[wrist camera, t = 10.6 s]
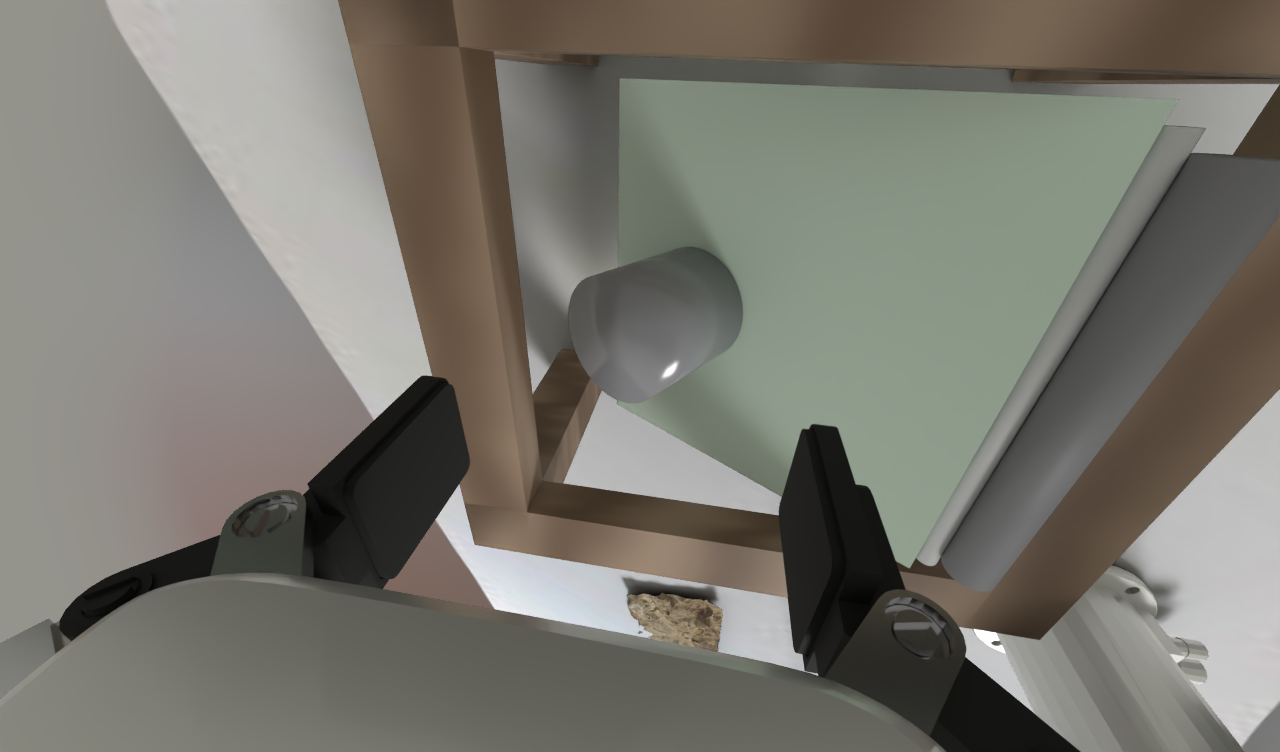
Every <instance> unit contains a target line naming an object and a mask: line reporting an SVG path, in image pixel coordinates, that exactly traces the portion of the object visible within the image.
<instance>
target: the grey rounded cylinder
mask: <svg viewBox="0 0 1280 752" xmlns="http://www.w3.org/2000/svg"><path fill="white" fill-rule="evenodd" d="M742 320H743V305H742V298H741V295H740V291H739V288H738V286H737V283H736V281H735V279H734V277H733V276H732V274H731V273H730V271H729V270H728V268H727V267H726V266H725V265H724V264H723V263H722V262H721V261H720V260H719V259H718V258H717V257H715V256H714V255H713V254H711V253H709V252H707V251H705V250H703V249H700V248H696V247H680V248H677V249H674V250H671V251H668V252H664V253H661V254H658V255H655V256H652V257H649V258H646V259H643V260H640V261H637V262H634V263H631V264H628V265H624V266H621V267H618V268H615V269H612V270H609V271H606V272H603V273H600V274H597V275H594V276H591V277H588V278H586V279H584V280H583V281H581V282H580V283H579V284H578V285H577V287H576V288H575V290H574V292H573V294H572V296H571V299H570V304H569V311H568V323H569V331H570V336H571V340H572V343H573V346H574V349H575V352H576V354H577V356H578V359H579V360H580V362H581V364H582V366H583V368H584V369H585V371H586V372H587V374H588V375H589V376H590V378H591V379H592V380H593V381H594V383H595V384H596V385H597V386H598V387H599V388H600V389H601V390H603V391H604V392H605V393H606V394H608V395H609V396H611V397H612V398H614V399H616V400H618V401H621V402H624V403H630V404H636V403H641V402H644V401H646V400H648V399H649V398H651V397H653V396H654V395H656V394H658V393H659V392H661V391H662V390H664V389H666V388H667V387H669V386H670V385H672V384H674V383H675V382H677V381H679V380H680V379H682V378H683V377H685V376H687V375H688V374H690V373H691V372H693V371H695V370H696V369H698V368H700V367H701V366H703V365H704V364H706V363H708V362H709V361H711V360H712V359H714V358H716V357H717V356H719V355H721V354H722V353H724V352H725V351H727V350H728V349H729V348H730V347H731V346H732V345H733V343H734V342H735V341H736V339H737V337H738V335H739V332H740V330H741V326H742Z"/></svg>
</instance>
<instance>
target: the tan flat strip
mask: <svg viewBox="0 0 1280 752" xmlns="http://www.w3.org/2000/svg"><path fill="white" fill-rule="evenodd" d="M627 597H629V598H630V599H629V600H630V602H629V609H630V610H629V611H630V613H631V615H632V616H633V618H634V619H636V620H638V621H639V625H642V626H643V627H645V628H644V630H646V631H648V632H650V633H652V634H653V635H652V636H651V637H649V638H650V639H654V640H659V641H664V642H670V643H675V644H680V645H685V646H691V647H696V648H701V649H705V650H710V651H715V652H717V651H718V644H719V643H718V642H719V640H720V639H719V638H720V637H719V634H720V630H721V629H720V628H721V621H722V616H723V614H722V613H723V612H722V611H723V610H722V609H720V608H719V607H717V606H715V605H713V603H712V604H711V603H709V602H708V600H705V601H704V600H701V599H700V600H699V599H693V600H692V599H686V598H683V597H680V596H677V595H671V594H664V593H661V595H660V596H651V595H649V594H640V595H632V594H627ZM639 633H643V632H641V631H639Z"/></svg>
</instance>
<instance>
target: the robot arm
mask: <svg viewBox="0 0 1280 752" xmlns="http://www.w3.org/2000/svg"><path fill="white" fill-rule="evenodd" d="M469 466H470V457H469V452H468V448H467V443H466V439H465V434H464V430H463V425H462V421H461V416H460V412H459V407H458V403H457V399H456V394H455V390H454V387H453V385H451V384H449V382H448V381H447V379H445V378H441V377H433V376H421V377H420V378H418V379H417V380H416V381H415V382H414V383H413V384H412V385H411V386H410V387H409V388H408V389H407V390H406V391H405V392H404V393H403V394H402V395H401V396H399V397H398V398H397V399H396V400H395V401H394V402H393V403H392V404H391V405H390V406H389V407H388V408H387V409H386V410H385V411H384V412H383V413H382V414H380V415H379V416H378V417H377V418H376V419H375V420H374V421H373V422H372V423H371V424H370V425H369V426H368V427H367V428H366V429H365V430H364V431H362V432H361V433H360V434H359V435H358V436H357V437H356V438H355V439H354V440H353V441H352V442H351V443H350V444H349V445H348V446H347V447H346V448H345V449H343V450H342V451H341V452H340V453H339V454H338V455H337V456H336V457H335V458H334V459H333V460H332V461H331V462H330V463H329V464H328V465H327V466H326V467H324V468H323V469H322V470H321V471H320V472H319V473H318V474H317V475H316V476H315V477H314V478H313V479H312V480H311V481H310V482H309V483H308V486H309V488H310V489H309V490H308V491H307V492H306V493H305V494H304V495H302V494H301V493H299V492H296V491H293V490H279V491H274V492H269V493H266V494H264V495H261V496H258V497H256V498H254V499H252V500H250V501H248V502H246V503H245V504H243V505H242V506H241V507H239V508H238V509H237V510H235V511H234V512H233V513H232V514H231V515H230V516H229V518H228V519H227V520H226V522H225V524H224V526H223V528H222V531H221V535H218V536H216V537H213V538H210V539H207V540H205V541H202V542H199V543H196V544H194V545H191V546H188V547H186V548H183V549H180V550H177V551H175V552H172V553H169V554H166V555H164V556H161V557H158V558H156V559H153V560H150V561H147V562H145V563H142V564H139V565H137V566H134V567H131V568H129V569H126V570H123V571H120V572H118V573H116V574H114V575H111V576H109V577H107V578H105V579H103V580H101V581H100V582H98V583H96V584H95V585H93V586H91V587H90V588H89V589H87V590H86V591H85V592H84V593H82V594H81V595H80V596H78V597H77V598H76V599H75V600H74V601H73V602H72V603H71V605H70V606H69V607H68V608H67V609H66V610H65V612H64V614H63V616H62V617H61V619H60V621H58V622H56V623H53V622H52V621H51V620H50V619H47V620H45V621H43V622H41V623H39V624H37V625H35V626H33V627H31V628H29V629H27V630H25V631H23V632H21V633H19V634H17V635H15V636H13V637H11V638H9V639H7V640H5V641H3V642H1V643H0V752H1245V751H1244V750H1243V749H1242V747H1241V746H1240V745H1239V743H1238V742H1237V741H1236V740H1235V738H1234V737H1233V736H1232V734H1231V733H1230V732H1229V730H1228V729H1227V728H1226V727H1225V725H1224V724H1223V723H1222V721H1221V720H1220V719H1219V718H1218V716H1217V715H1216V714H1215V712H1214V711H1213V710H1212V708H1211V707H1210V706H1209V705H1208V703H1207V702H1206V701H1205V699H1204V698H1203V697H1202V696H1201V694H1200V693H1199V692H1198V690H1197V689H1196V688H1195V686H1194V685H1193V684H1198V685H1201V684H1203V683H1205V682H1206V679H1207V673H1206V670H1205V668H1204V667H1203V665H1202V664H1201V663H1200V662H1199V661H1205V660H1207V658H1208V651H1207V649H1206V647H1205V646H1204V645H1203V644H1202V643H1201V642H1198V641H1195V640H1189V639H1183V638H1177V637H1176V638H1172V637H1169V636H1168V635H1167V634H1166V633H1165V632H1164V630H1163V629H1162V628H1161V627H1160V625H1159V624H1158V623H1157V622H1156V620H1155V616H1156V614H1157V602H1156V600H1155V597H1154V595H1153V594H1152V593H1151V591H1150V590H1149V589H1148V588H1147V586H1146V585H1145V584H1144V583H1143V582H1142V581H1141V580H1140V579H1139V578H1137V577H1136V576H1135V575H1134V574H1132V573H1130V572H1128V571H1126V570H1124V569H1122V568H1119V567H1116V566H1112V565H1111V566H1110V567H1109V568H1108V569H1107V570H1106V571H1105V573H1104V574H1103V575H1102V576H1101V577H1100V578H1099V579H1098V580H1097V581H1096V582H1095V583H1094V584H1093V585H1092V586H1091V587H1090V588H1089V589H1088V590H1087V591H1086V592H1085V593H1084V595H1083V596H1082V597H1081V598H1080V599H1079V600H1078V601H1077V602H1076V603H1075V604H1074V605H1073V606H1072V607H1071V608H1070V609H1069V610H1068V611H1067V612H1066V613H1065V614H1064V615H1063V617H1062V618H1061V619H1060V620H1059V621H1058V622H1057V623H1056V624H1055V625H1054V626H1053V627H1052V628H1051V629H1050V630H1049V631H1048V632H1047V633H1046V634H1045V635H1044V636H1043V637H1042V639H1041V640H1035V639H1030V638H1024V637H1018V636H1012V635H1006V634H1000V633H994V632H988V631H982V630H976V629H973V631H974V633H975V635H976V636H977V637H978V638H979V639H980V640H981V641H982V642H984V643H985V644H987V645H988V646H990V647H992V648H994V649H996V650H999V651H1001V652H1004V653H1006V655H1007V657H1008V660H1009V662H1010V664H1011V666H1012V668H1013V670H1014V672H1015V674H1016V676H1017V678H1018V680H1019V682H1020V684H1021V686H1022V688H1023V690H1024V693H1025V695H1026V697H1027V699H1028V701H1029V703H1030V705H1031V707H1032V709H1033V711H1034V713H1035V714H1034V713H1033V712H1032V711H1031V710H1029V709H1028V708H1027V707H1026V706H1024V705H1023V704H1022V703H1021V702H1020V701H1018V700H1017V699H1016V698H1015V697H1013V696H1012V695H1011V694H1010V693H1009V692H1007V691H1006V690H1005V689H1004V688H1002V687H1001V686H1000V685H999V684H998V683H996V682H995V681H994V680H993V679H991V678H990V677H989V676H988V675H987V674H985V673H984V672H983V671H982V670H981V669H979V668H978V667H977V666H976V665H974V664H973V663H972V662H971V661H970V660H968V659H967V658H966V657H965V654H966V645H965V640H964V636H963V634H962V632H961V630H960V629H959V627H958V625H957V623H956V622H955V621H954V620H953V618H952V617H951V616H950V615H949V614H948V613H947V611H945V610H944V609H943V608H942V607H940V606H939V605H938V604H937V603H935V602H934V601H932V600H931V599H929V598H927V597H925V596H923V595H922V594H919V593H916V592H912V591H909V590H906V589H905V586H904V583H903V580H902V577H901V574H900V572H899V569H898V566H897V563H896V560H895V557H894V554H893V552H892V549H891V546H890V543H889V540H888V537H887V534H886V532H885V529H884V526H883V523H882V520H881V517H880V514H879V511H878V509H877V506H876V503H875V500H874V497H873V494H872V492H871V490H870V488H868V487H867V486H864V485H857V484H855V480H854V477H853V474H852V471H851V468H850V465H849V461H848V458H847V455H846V452H845V449H844V446H843V442H842V439H841V436H840V433H839V430H838V428H837V427H835V426H827V425H819V424H811V426H810V428H809V429H802V430H801V433H800V436H799V440H798V443H797V447H796V450H795V454H794V457H793V460H792V464H791V467H790V471H789V474H788V478H787V481H786V485H785V488H784V492H783V495H782V499H781V502H780V506H779V525H780V533H781V542H782V551H783V560H784V569H785V577H786V586H787V595H788V604H789V613H790V621H791V630H792V639H793V647H794V651H795V652H796V653H799V654H803V662H804V669H805V671H807V672H813V673H818V676H816V675H813V674H811V673H807V672H803V671H799V670H795V669H791V668H788V667H784V666H780V665H776V664H772V663H768V662H763V661H758V660H753V659H749V658H744V657H739V656H734V655H729V654H725V653H720V652H715V651H710V650H705V649H701V648H696V647H691V646H685V645H680V644H675V643H670V642H664V641H659V640H654V639H649V638H644V637H638V636H633V635H628V634H623V633H617V632H612V631H607V630H602V629H597V628H591V627H586V626H581V625H575V624H570V623H565V622H559V621H554V620H548V619H543V618H538V617H532V616H527V615H522V614H516V613H511V612H505V611H500V610H495V609H489V608H484V607H478V606H473V605H468V604H461V603H457V602H451V601H445V600H440V599H434V598H429V597H423V596H418V595H412V594H407V593H401V592H395V591H389V590H384V589H383V588H384V586H385V585H386V583H387V582H388V580H389V579H393V578H395V577H396V576H397V575H398V574H399V572H400V571H401V569H402V568H403V566H404V565H405V563H406V562H407V561H408V559H409V558H410V556H411V555H412V553H413V552H414V550H415V549H416V547H417V546H418V544H419V543H420V541H421V539H422V538H423V537H424V535H425V534H426V532H427V531H428V529H429V528H430V526H431V525H432V524H433V522H434V521H435V519H436V518H437V516H438V515H439V513H440V512H441V510H442V509H443V507H444V506H445V504H446V503H447V501H448V500H449V498H450V497H451V495H452V494H453V492H454V491H455V490H456V488H457V487H458V485H459V484H460V482H461V481H462V479H463V478H464V476H465V475H466V473H467V471H468V469H469Z"/></svg>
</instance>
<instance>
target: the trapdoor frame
mask: <svg viewBox="0 0 1280 752" xmlns="http://www.w3.org/2000/svg"><path fill="white" fill-rule="evenodd" d="M338 2H339V6H340V10H341V14H342V17H343V21H344V25H345V29H346V33H347V37H348V41H349V45H350V49H351V53H352V57H353V61H354V65H355V69H356V73H357V77H358V81H359V85H360V89H361V93H362V97H363V101H364V105H365V109H366V113H367V117H368V121H369V125H370V129H371V133H372V137H373V141H374V145H375V149H376V153H377V157H378V161H379V165H380V169H381V173H382V177H383V181H384V185H385V189H386V193H387V197H388V201H389V205H390V209H391V213H392V217H393V221H394V225H395V229H396V233H397V237H398V241H399V245H400V249H401V253H402V257H403V261H404V265H405V269H406V273H407V277H408V281H409V285H410V289H411V293H412V297H413V301H414V305H415V309H416V313H417V317H418V321H419V325H420V329H421V333H422V337H423V341H424V345H425V349H426V352H427V356H428V360H429V364H430V368H431V372H432V376H433V377H441V378H445V379H447V381H448V382H449V384H451V385H453V387H454V390H455V394H456V399H457V403H458V407H459V412H460V416H461V421H462V425H463V430H464V434H465V439H466V443H467V448H468V452H469V457H470V466H469V469H468V471H467V473H466V475H465V476H464V478H463V479H462V481H461V482H460V488H461V492H462V496H463V500H464V504H465V508H466V512H467V516H468V520H469V524H470V528H471V532H472V536H473V540H474V544H475V545H479V546H485V547H491V548H497V549H503V550H509V551H515V552H521V553H526V554H532V555H538V556H544V557H550V558H556V559H562V560H568V561H574V562H580V563H586V564H592V565H597V566H603V567H609V568H615V569H621V570H627V571H633V572H639V573H645V574H651V575H657V576H663V577H668V578H674V579H680V580H686V581H692V582H698V583H704V584H710V585H716V586H722V587H728V588H734V589H740V590H745V591H751V592H757V593H763V594H769V595H775V596H781V597H787V598H788V595H787V586H786V577H785V569H784V560H783V551H782V542H781V533H780V525H779V516H778V515H771V514H765V513H758V512H751V511H744V510H738V509H731V508H724V507H718V506H711V505H704V504H697V503H691V502H684V501H677V500H670V499H664V498H657V497H650V496H644V495H637V494H630V493H623V492H617V491H610V490H603V489H596V488H590V487H583V486H576V485H570V484H563V482H564V480H565V477H566V475H567V472H568V470H569V468H570V465H571V463H572V460H573V458H574V456H575V453H576V451H577V448H578V446H579V444H580V441H581V439H582V436H583V434H584V432H585V429H586V427H587V424H588V422H589V420H590V417H591V415H592V412H593V410H594V408H595V405H596V403H597V400H598V398H599V396H600V393H601V391H602V390H601V389H600V388H599V387H598V386H597V385H596V384H595V383H594V381H593V380H592V379H591V378H590V376H589V375H588V374H587V372H586V371H585V369H584V368H583V366H582V364H581V362H580V360H579V359H578V356H577V354H576V352H575V351H570V350H561V351H560V352H559V354H558V355H557V357H556V358H555V360H554V362H553V363H552V365H551V366H550V368H549V369H548V371H547V373H546V374H545V376H544V377H543V379H542V381H541V382H540V384H539V385H538V387H537V388H536V390H535V392H534V393H533V395H532V386H531V377H530V368H529V359H528V351H527V342H526V333H525V324H524V315H523V306H522V298H521V289H520V280H519V271H518V262H517V253H516V245H515V236H514V227H513V218H512V209H511V201H510V192H509V183H508V174H507V165H506V156H505V148H504V139H503V130H502V121H501V112H500V103H499V95H498V86H497V77H496V68H495V59H501V60H510V61H519V62H529V63H538V64H557V65H584V66H598V55H609V56H638V57H668V58H697V59H726V60H756V61H785V62H814V63H843V64H873V65H902V66H931V67H961V68H990V69H1016V70H1015V72H1014V75H1013V77H1012V80H1011V81H1017V82H1044V83H1071V84H1280V0H338ZM1233 155H1239V156H1251V157H1262V158H1272V159H1280V85H1279V86H1278V88H1277V89H1276V91H1275V92H1274V94H1273V95H1272V97H1271V98H1270V100H1269V101H1268V103H1267V104H1266V106H1265V107H1264V109H1263V110H1262V112H1261V113H1260V115H1259V116H1258V118H1257V119H1256V121H1255V122H1254V124H1253V125H1252V127H1251V128H1250V130H1249V131H1248V133H1247V134H1246V136H1245V137H1244V139H1243V140H1242V142H1241V143H1240V145H1239V146H1238V148H1237V149H1236V151H1235V152H1234V154H1233ZM1279 389H1280V216H1279V217H1278V218H1277V219H1276V221H1275V222H1274V223H1273V225H1272V226H1271V227H1270V229H1269V230H1268V231H1267V233H1266V234H1265V235H1264V236H1263V238H1262V239H1261V240H1260V242H1259V243H1258V244H1257V246H1256V247H1255V248H1254V250H1253V251H1252V252H1251V253H1250V255H1249V256H1248V257H1247V259H1246V260H1245V261H1244V263H1243V264H1242V265H1241V267H1240V268H1239V269H1238V270H1237V272H1236V273H1235V274H1234V276H1233V277H1232V278H1231V280H1230V281H1229V282H1228V283H1227V285H1226V286H1225V287H1224V289H1223V290H1222V291H1221V293H1220V294H1219V295H1218V297H1217V298H1216V299H1215V300H1214V302H1213V303H1212V304H1211V306H1210V307H1209V308H1208V310H1207V311H1206V312H1205V314H1204V315H1203V316H1202V317H1201V319H1200V320H1199V321H1198V323H1197V324H1196V325H1195V327H1194V328H1193V329H1192V331H1191V332H1190V333H1189V334H1188V336H1187V337H1186V338H1185V340H1184V341H1183V342H1182V344H1181V345H1180V346H1179V348H1178V349H1177V350H1176V351H1175V353H1174V354H1173V355H1172V357H1171V358H1170V359H1169V361H1168V362H1167V363H1166V365H1165V366H1164V367H1163V368H1162V370H1161V371H1160V372H1159V374H1158V375H1157V376H1156V378H1155V379H1154V380H1153V382H1152V383H1151V384H1150V385H1149V387H1148V388H1147V389H1146V391H1145V392H1144V393H1143V395H1142V396H1141V397H1140V399H1139V400H1138V401H1137V402H1136V404H1135V405H1134V406H1133V408H1132V409H1131V410H1130V412H1129V413H1128V414H1127V416H1126V417H1125V418H1124V419H1123V421H1122V422H1121V423H1120V425H1119V426H1118V427H1117V429H1116V430H1115V431H1114V433H1113V434H1112V435H1111V436H1110V438H1109V439H1108V440H1107V442H1106V443H1105V444H1104V446H1103V447H1102V448H1101V450H1100V451H1099V452H1098V453H1097V455H1096V456H1095V457H1094V459H1093V460H1092V461H1091V463H1090V464H1089V465H1088V467H1087V468H1086V469H1085V470H1084V472H1083V473H1082V474H1081V476H1080V477H1079V478H1078V480H1077V481H1076V482H1075V484H1074V485H1073V486H1072V487H1071V489H1070V490H1069V491H1068V493H1067V494H1066V495H1065V497H1064V498H1063V499H1062V501H1061V502H1060V503H1059V504H1058V506H1057V507H1056V508H1055V510H1054V511H1053V512H1052V514H1051V515H1050V516H1049V517H1048V519H1047V520H1046V521H1045V523H1044V524H1043V525H1042V527H1041V528H1040V529H1039V531H1038V532H1037V533H1036V534H1035V536H1034V537H1033V538H1032V540H1031V541H1030V542H1029V544H1028V545H1027V546H1026V548H1025V549H1024V550H1023V551H1022V553H1021V554H1020V555H1019V557H1018V558H1017V559H1016V561H1015V562H1014V563H1013V565H1012V566H1011V567H1010V568H1009V570H1008V571H1007V572H1006V574H1005V575H1004V576H1003V578H1002V579H1001V580H1000V582H999V583H998V584H997V585H996V587H995V588H994V589H993V590H991V591H986V592H981V591H976V590H973V589H970V588H967V587H965V586H963V585H962V584H960V583H959V582H957V581H956V580H955V579H953V578H952V577H951V576H950V575H949V574H948V572H947V571H946V570H945V568H944V566H943V564H942V561H941V557H940V559H939V560H938V562H937V564H936V565H934V566H927V565H925V564H923V563H921V562H920V561H919V560H918V559H917V558H915V560H914V562H913V564H912V565H911V567H910V569H909V568H908V567H906V566H904V565H902V564H900V563H899V562H897V561H896V563H897V566H898V569H899V572H900V574H901V577H902V580H903V583H904V586H905V589H906V590H909V591H912V592H916V593H919V594H922V595H923V596H925V597H927V598H929V599H931V600H932V601H934V602H935V603H937V604H938V605H939V606H940V607H942V608H943V609H944V610H945V611H947V613H948V614H949V615H950V616H951V617H952V618H953V620H954V621H955V622H956V623H957V625H958V626H959V627H964V628H970V629H976V630H982V631H988V632H994V633H1000V634H1006V635H1012V636H1018V637H1024V638H1030V639H1035V640H1041V639H1042V637H1043V636H1044V635H1045V634H1046V633H1047V632H1048V631H1049V630H1050V629H1051V628H1052V627H1053V626H1054V625H1055V624H1056V623H1057V622H1058V621H1059V620H1060V619H1061V618H1062V617H1063V615H1064V614H1065V613H1066V612H1067V611H1068V610H1069V609H1070V608H1071V607H1072V606H1073V605H1074V604H1075V603H1076V602H1077V601H1078V600H1079V599H1080V598H1081V597H1082V596H1083V595H1084V593H1085V592H1086V591H1087V590H1088V589H1089V588H1090V587H1091V586H1092V585H1093V584H1094V583H1095V582H1096V581H1097V580H1098V579H1099V578H1100V577H1101V576H1102V575H1103V574H1104V573H1105V571H1106V570H1107V569H1108V568H1109V567H1110V566H1111V565H1112V564H1113V563H1114V562H1115V561H1116V560H1117V559H1118V558H1119V557H1120V556H1121V555H1122V554H1123V553H1124V552H1125V551H1126V549H1127V548H1128V547H1129V546H1130V545H1131V544H1132V543H1133V542H1134V541H1135V540H1136V539H1137V538H1138V537H1139V536H1140V535H1141V534H1142V533H1143V532H1144V531H1145V530H1146V529H1147V528H1148V526H1149V525H1150V524H1151V523H1152V522H1153V521H1154V520H1155V519H1156V518H1157V517H1158V516H1159V515H1160V514H1161V513H1162V512H1163V511H1164V510H1165V509H1166V508H1167V507H1168V506H1169V504H1170V503H1171V502H1172V501H1173V500H1174V499H1175V498H1176V497H1177V496H1178V495H1179V494H1180V493H1181V492H1182V491H1183V490H1184V489H1185V488H1186V487H1187V486H1188V485H1189V484H1190V482H1191V481H1192V480H1193V479H1194V478H1195V477H1196V476H1197V475H1198V474H1199V473H1200V472H1201V471H1202V470H1203V469H1204V468H1205V467H1206V466H1207V465H1208V464H1209V463H1210V462H1211V460H1212V459H1213V458H1214V457H1215V456H1216V455H1217V454H1218V453H1219V452H1220V451H1221V450H1222V449H1223V448H1224V447H1225V446H1226V445H1227V444H1228V443H1229V442H1230V441H1231V440H1232V438H1233V437H1234V436H1235V435H1236V434H1237V433H1238V432H1239V431H1240V430H1241V429H1242V428H1243V427H1244V426H1245V425H1246V424H1247V423H1248V422H1249V421H1250V420H1251V419H1252V418H1253V416H1254V415H1255V414H1256V413H1257V412H1258V411H1259V410H1260V409H1261V408H1262V407H1263V406H1264V405H1265V404H1266V403H1267V402H1268V401H1269V400H1270V399H1271V398H1272V397H1273V396H1274V395H1275V393H1276V392H1277V391H1278V390H1279Z"/></svg>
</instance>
